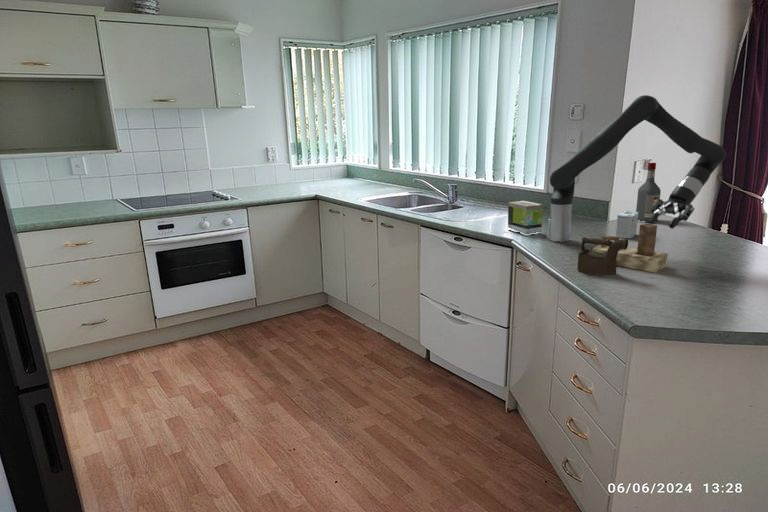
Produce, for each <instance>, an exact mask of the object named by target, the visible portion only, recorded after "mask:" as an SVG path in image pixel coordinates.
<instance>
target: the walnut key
mask: <svg viewBox="0 0 768 512" xmlns="http://www.w3.org/2000/svg"><path fill="white" fill-rule="evenodd" d="M657 230H658V225H656V224H650V223H642V224H639V230H638V241H637V248H636V249H637V255H643V256H649V257H651V256H653V255H654V251H655V248H656V241H657V239H656V238H657Z"/></svg>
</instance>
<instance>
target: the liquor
mask: <svg viewBox="0 0 768 512" xmlns="http://www.w3.org/2000/svg"><path fill="white" fill-rule="evenodd" d="M656 169H657V162H648V163H647V174H646V175H647V176H646V180H645V182H644V183H643V184H642V185H640V186H639V188H638V189H637V198H636V199H637V200H636V207H635V212H639V213H638V220H640V221H645V222H649V219H650V217H651V216H652V215H653V213H652V212H651V209H652V208H653V206H654V205H655V204H656V203H657V202H658V201H659V200H660V199H661V188H660V186H658V184H657V183H656V181H655V178H656V177H655V176H656V175H655V174H656ZM655 210H656V209H655ZM658 219H659V218H658ZM658 219H657V220H656V221H657V222H658Z"/></svg>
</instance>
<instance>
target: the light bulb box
mask: <svg viewBox="0 0 768 512" xmlns="http://www.w3.org/2000/svg"><path fill="white" fill-rule="evenodd" d="M638 213H639V212H636V211H625V210H624V211H622V212H620V213H619V214H618V215H617V216H616V217H617V219H616V230H615V237H620V238H619V239H625V238H629V239H628V240H631V239H632V238H634V237H635V236H636V235H637V229H638ZM634 235H635V236H634ZM630 238H631V239H630Z"/></svg>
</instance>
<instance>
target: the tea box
mask: <svg viewBox="0 0 768 512" xmlns="http://www.w3.org/2000/svg"><path fill="white" fill-rule="evenodd" d="M507 206H508V208H507V209H508V210H507V211H508V213H507V228H508V227H509V228H511V229H514V230H516V231H519V232H522V233H524V234H530V233H536V232H541V233H542V232H543V231H542V227H543V209H544V208H543V204H542V203H538V202H532V201H527V200H519V201H518V200H516V201H508V205H507Z"/></svg>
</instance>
